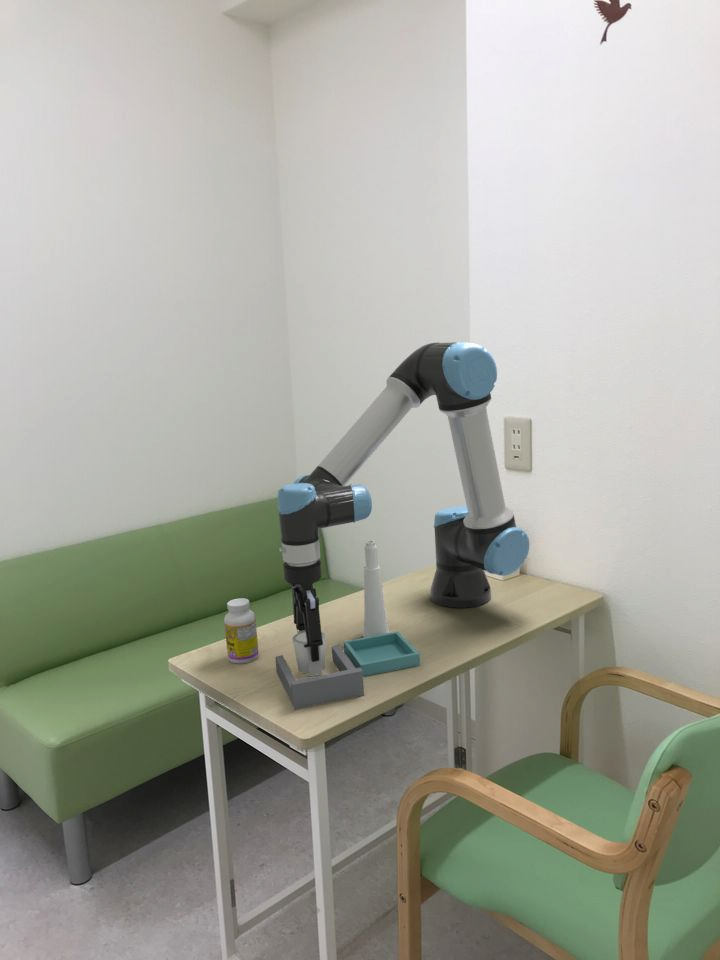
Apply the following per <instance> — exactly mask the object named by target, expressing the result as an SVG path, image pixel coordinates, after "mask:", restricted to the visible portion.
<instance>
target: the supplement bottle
mask: <svg viewBox="0 0 720 960" xmlns="http://www.w3.org/2000/svg"><path fill="white" fill-rule="evenodd" d="M250 606H251V605H250V600H249V599H248V598H244V597H242V598H234V599H231V600H229V601H228V602H227V604H226V607H227V610H228V613H226V614H225V616H224V619H223V620H224V622H223V623H224V630H225V631H224V632H225V641H226V650H227V651H226V652H227V658H228V660H229V661H230V662H231V663H234V664H248V663H251V662H253V661H255V660H257V658H259V652H260V651H259V650H260V649H259V642H258V631H257V622H256V620H257V619H256V615H255V612H254V611H252V610H251V609H250Z"/></svg>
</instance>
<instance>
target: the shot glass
mask: <svg viewBox="0 0 720 960" xmlns="http://www.w3.org/2000/svg"><path fill="white" fill-rule="evenodd" d="M321 633H322V641H323V645H320V652H321V665H322V671H324V670H325V668H326V646H327V645H326V644H327V642H326V641H327V636H326V633H325V632H323V631H321ZM292 643H293V648H294V653H295V658H296V663H297V669H298V672H300V673H302V674H304V675H305V674H306V675H308V664H307V652H306V648H305V647H304V644H307V638H306V632H305V631H303V632H300V633H296V634H294V635H293V636H292Z"/></svg>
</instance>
